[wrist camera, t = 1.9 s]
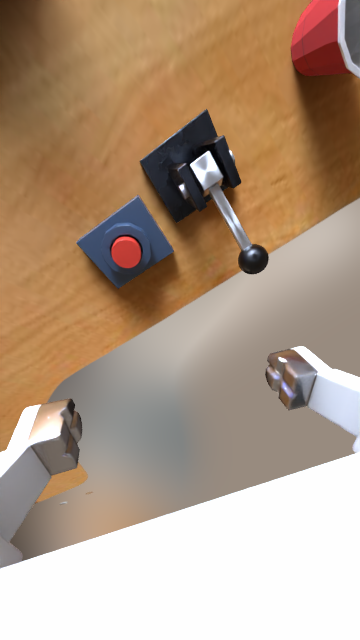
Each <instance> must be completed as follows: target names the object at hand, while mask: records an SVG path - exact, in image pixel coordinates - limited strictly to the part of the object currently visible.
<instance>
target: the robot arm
mask: <svg viewBox="0 0 360 640" xmlns="http://www.w3.org/2000/svg"><path fill="white" fill-rule="evenodd" d="M267 361H268V362H269V364H270V365H269V366H268V367H267V368H266V374H265V375H266V379H267V382H268V384H269V386H270V387H271V388H272V390H274V391H276V392H278V393H279V399H280V400H281V401H282V403H283V404H284V405H285V406H286V408H287V409H288V410H292V409H296V408H300V407H304V406H307V407H308V408H310V409H311V410H313V411H315V412H316V413H318V414H320V415H321V416H323V417H325V418H326V419H328V420H330V421H331V422H333V423H335V424H336V425H338V426H340V427H341V428H343V429H345V430H346V431H348V432H350V433H351V434H353V435H355V436H356V437H357V439H356V440H355V443H354V444H353V451H354V452H355V453H356V454H353V455H350V456H347V457H344V458H341V459H338V460H335V461H332V462H328V463H325V464H323V465H319V466H316V467H313V468H310V469H307V470H304V471H301V472H298V473H295V474H292V475H288V476H285V477H282V478H279V479H276V480H273V481H270V482H267V483H264V484H260V485H257V486H254V487H251V488H248V489H245V490H242V491H239V492H236V493H233V494H229V495H226V496H223V497H220V498H218V499H214V500H211V501H208V502H205V503H202V504H199V505H196V506H192V507H189V508H186V509H183V510H180V511H177V512H174V513H171V514H168V515H164V516H161V517H159V518H155V519H152V520H149V521H146V522H143V523H140V524H137V525H134V526H131V527H128V528H124V529H122V530H118V531H115V532H112V533H109V534H106V535H103V536H100V537H97V538H94V539H90V540H87V541H84V542H81V543H78V544H75V545H72V546H69V547H66V548H63V549H60V550H57V551H54V552H50V553H47V554H44V555H41V556H38V557H35V558H32V559H29V560H26V561H23V562H21V561H22V556H23V555H22V553H21V552H20V551H19V550H18V549H17V548H16V547H14V546H13V545H12V544H11V543H10V540H11V538H12V537H13V536H14V534H15V532H16V531H17V529H18V528H19V526H20V525H21V523H22V522H23V520H24V519H25V517H26V516H27V514H28V512H29V511H30V509H31V508H32V506H33V505H34V503H35V502H36V500H37V499H38V497H39V496H40V494H41V493H42V491H43V489H44V488H45V486H46V485H47V483H48V482H49V480H50V479H51V476H52V475H55V474H58V473H62V472H65V471H68V470H72V469H75V468H77V464H78V457H79V447H78V445H77V443H78V441H79V440H80V439H81V436H82V422H81V417H80V415H79V413H78V412H76V411H74V408H75V404H74V402H73V400H72V399H65V400H60V401H55V402H50V403H45V404H41V405H37V406H32V407H27V408H26V409H25V410H24V411H23V413H22V415H21V418H20V420H19V422H18V425H17V427H16V429H15V432H14V434H13V436H12V439H11V441H10V443H9V446H8V448H7V450H6V451H3V452H1V453H0V640H360V378H359V377H356V376H353V375H351V374H348V373H345V372H342V371H339V370H337V369H334V370H332V369H331V368H329V367H328V366H327V365H326V364H325V363H323V362H322V361H321V360H320V359H319V358H317V357H316V356H315V355H314V354H313V353H311V352H310V351H309V350H308V349H307V348H305V347H302V346H300V347H296V348H292V349H288V350H284V351H279V352H275V353H271V354H270V355H269V356H268V360H267Z"/></svg>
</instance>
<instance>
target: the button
mask: <svg viewBox="0 0 360 640" xmlns="http://www.w3.org/2000/svg"><path fill="white" fill-rule="evenodd" d="M111 254H112V258H113V260H114V262H115V263H116V264H117V265H119V266H121V267H123V268H131V267H134V266H136V265H137V264H138V263H139V261H140V259H141V248H140V245H139V243H138V242H137V241H136V240H135V239H133V238H131V237H128V236H123V237H120V238H118V239H117V240H116V241H115V242H114V244H113V247H112V251H111Z"/></svg>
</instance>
